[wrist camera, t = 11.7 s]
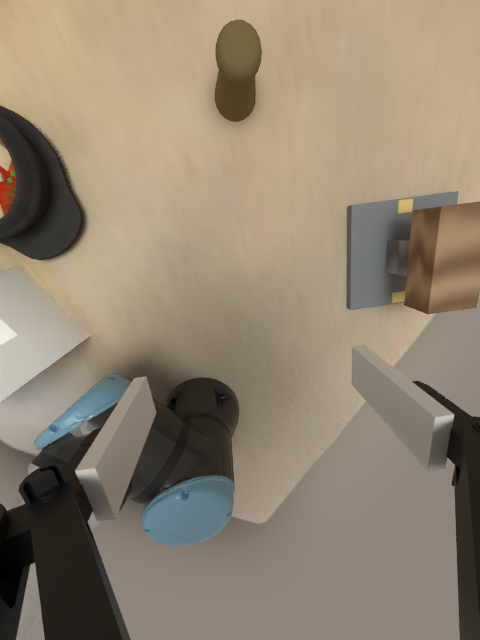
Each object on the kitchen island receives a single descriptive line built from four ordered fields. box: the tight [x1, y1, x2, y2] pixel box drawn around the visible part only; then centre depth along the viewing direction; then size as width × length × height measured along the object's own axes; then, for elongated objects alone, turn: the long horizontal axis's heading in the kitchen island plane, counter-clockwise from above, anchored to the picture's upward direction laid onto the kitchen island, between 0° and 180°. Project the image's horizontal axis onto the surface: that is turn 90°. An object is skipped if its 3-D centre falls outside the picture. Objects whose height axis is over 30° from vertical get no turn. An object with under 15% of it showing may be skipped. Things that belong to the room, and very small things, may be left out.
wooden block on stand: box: [385, 202, 480, 314], centre depth 39 cm, size 14×7×12 cm, turn 7°
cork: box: [215, 20, 262, 122], centre depth 32 cm, size 6×6×11 cm
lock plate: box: [347, 191, 458, 310], centre depth 42 cm, size 18×18×8 cm
